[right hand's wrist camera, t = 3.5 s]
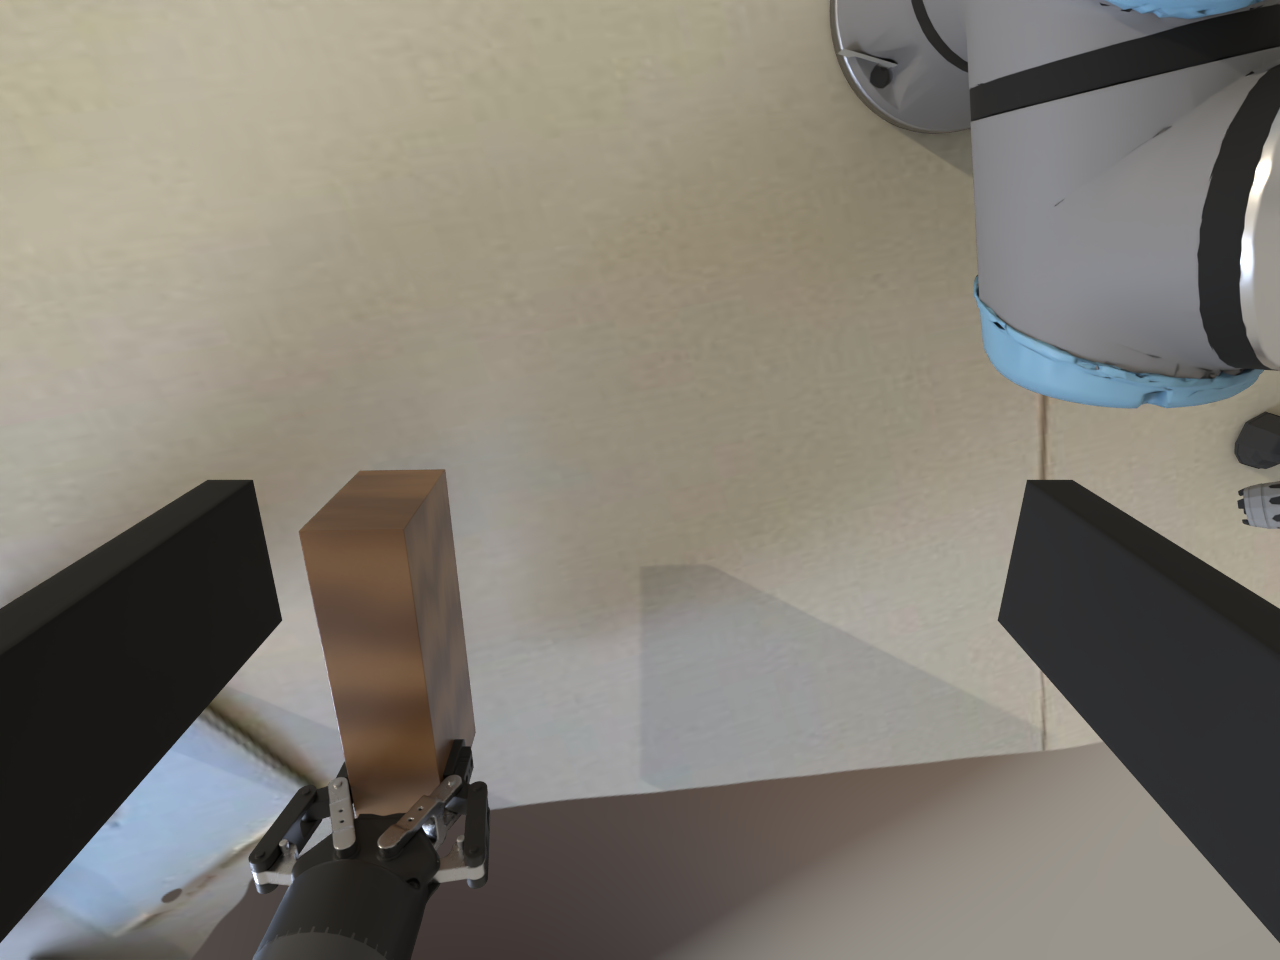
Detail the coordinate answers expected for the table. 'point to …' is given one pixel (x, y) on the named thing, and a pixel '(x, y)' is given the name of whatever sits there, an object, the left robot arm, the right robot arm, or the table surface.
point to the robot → (1260, 448)
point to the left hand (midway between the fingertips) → (415, 749)
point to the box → (391, 632)
